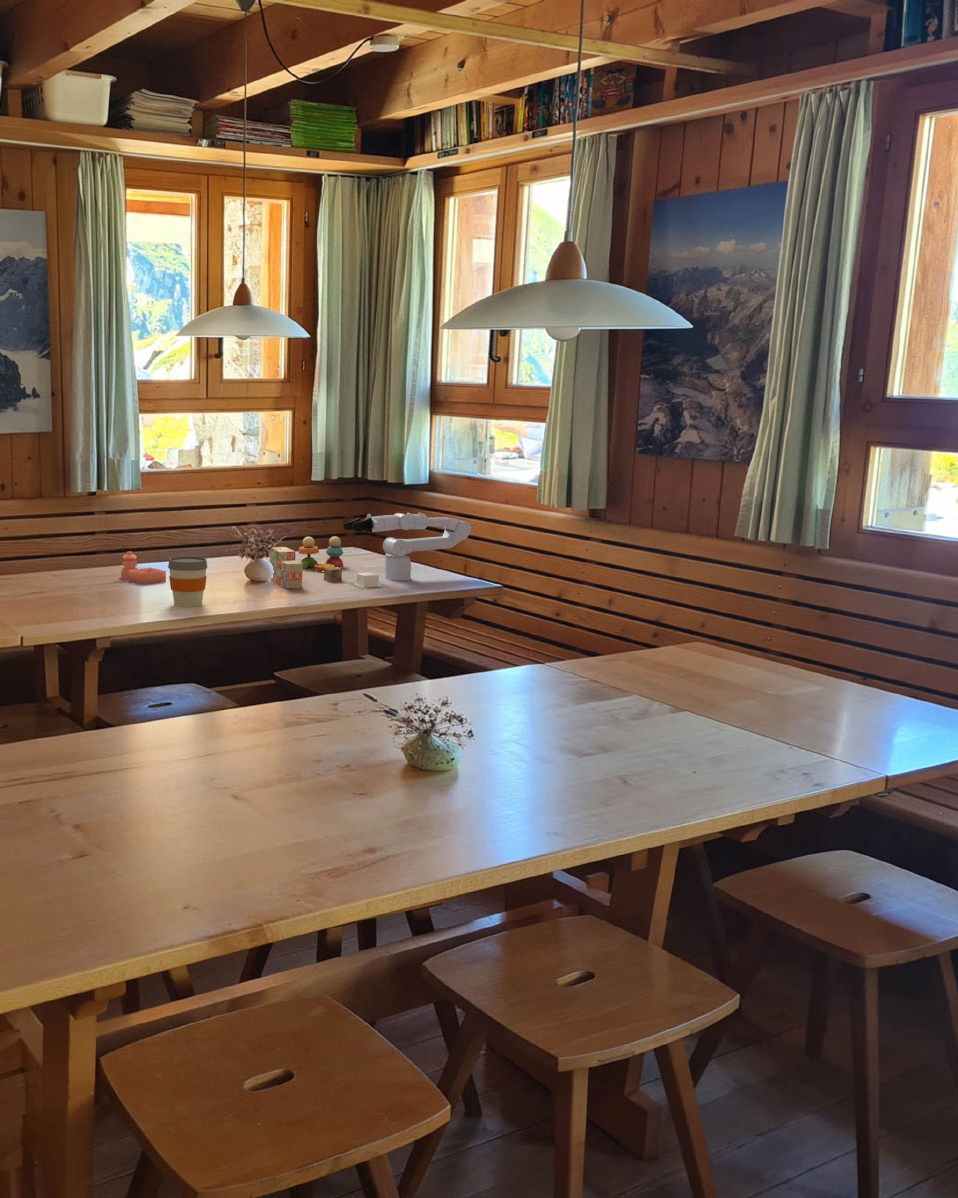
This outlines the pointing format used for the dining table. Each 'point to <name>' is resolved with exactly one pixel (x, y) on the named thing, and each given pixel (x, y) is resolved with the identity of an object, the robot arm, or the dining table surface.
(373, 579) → the base block
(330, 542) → the wooden stacking toy
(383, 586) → the clear glass plate
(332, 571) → the walnut block
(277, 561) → the stack of blocks
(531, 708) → the dining table surface
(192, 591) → the reusable coffee cup
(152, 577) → the pottery
